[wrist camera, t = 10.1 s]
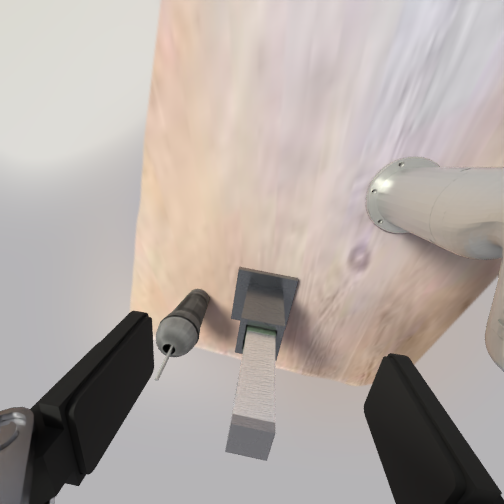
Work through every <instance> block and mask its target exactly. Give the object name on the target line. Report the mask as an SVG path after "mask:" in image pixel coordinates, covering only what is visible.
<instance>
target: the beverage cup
mask: <svg viewBox="0 0 504 504" xmlns="http://www.w3.org/2000/svg"><path fill="white" fill-rule="evenodd" d="M208 302H209V296H208V294H207V293H206V292H205V291H203V290H201V289H195V290H193V291H191V292H190V293H189V294H188V295H187V296H186V297H185V299H184V300H183V301H182V302H181V303H180V304H179V305H178V306H177V307H176V308H175V310H174V311H173V312H172V313H170V314H169V315H168V316H167V317H165V318H164V319H163V320H162V321H161V322H160V325H159V327H158V330H157V332H156V344H157V346H158V349H159V350H160V351H161V352H162V353H163V354H164V355H166V357H165V360H164V362H163V364H162V366H161V368H160V370H159V372H158V374H157V376H156V378H155V380H156V381H158V380H159V377H160V375H161V373H162V371H163V369H164V367H165V365H166V363H167V361H168V359H169V357H179V356H182V355H185V354H186V353H188V352H189V351H190V350H191V349H192V348H193V347H194V345H195V344H196V343H197V341H198V339H199V333H200V327H201V324H202V321H203V318H204V315H205V312H206V309H207V306H208Z"/></svg>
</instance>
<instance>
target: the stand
mask: <svg viewBox="0 0 504 504" xmlns="http://www.w3.org/2000/svg"><path fill="white" fill-rule="evenodd" d="M297 283H298V278H294V277H289V276H284V275H279V274H273V273H268V272H263V271H258V270H253V269H247V268H242V267H240V268H239V272H238V278H237V284H236V291H235V297H234V303H233V309H232V316H231V319H235V320H240V327H239V332H238V338H237V344H236V349H235V352H236V353H241V354H243V348H244V342H245V337H246V332H247V327H248V325H253V326H258V327H262V328H267V329H272V330H275V331H276V337H275V361H276V360H277V356H278V352H279V349H280V345H281V341H282V337H283V334H284V330H285V328H286V325H287V321H288V317H289V313H290V310H291V306H292V302H293V298H294V295H295V291H296V287H297Z"/></svg>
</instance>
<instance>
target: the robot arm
mask: <svg viewBox="0 0 504 504" xmlns="http://www.w3.org/2000/svg"><path fill="white" fill-rule="evenodd" d="M399 163H400V166H399ZM372 190H374V191H373V192H372ZM366 209H367V213H368V215H369V217H370V219H371V220H372V221H373V223H374V224H376V225H377V226H378V227H379V228H381V229H383V230H385V231H388V232H391V233H408V232H410V233H412V234H414V235H417V236H419V237H421V238H423V239H425V240H427V241H429V242H431V243H433V244H435V245H437V246H439V247H441V248H443V249H445V250H448V251H450V252H452V253H454V254H457V255H459V256H462V257H466V258H471V259H484V260H487V259H498V258H502V261H501V266H500V270H499V274H498V278H499V280H498V284H497V287H496V292H495V295H494V299H493V303H492V307H491V310H490V314H489V318H488V322H487V326H486V333H485V343H486V348H487V350H488V353H489V355H490V356H491V358H492V359H493V361H494V362H495V363H496V364H497V366H498V367H500V368H501V369H502V370H503V371H504V167H440V166H439V165H438V164H437V163H435V162H433V161H432V160H430V159H426V158H423V157H407V158H403V159H399V160H397V161H394V162H392V163H390V164H389V165H387V166H385V167H384V168H383V169H382V170H381V171H380V172H379V173H378V174H377V175H376V176H375V177H374V179H373V180H372V182H371V184H370V185H369V188H368V191H367V195H366ZM378 220H380V221H379V222H378ZM153 369H154V355H153V332H152V318H151V317H149V316H148V313H144V312H138V311H132V312H130V313H129V314H128V315H127V316H126V317H125V318H124V319H123V320H122V321H121V322H120V323H119V324H118V325H117V326H116V327H115V328H114V329H113V330H112V331H111V332H110V333H109V334H108V335H107V336H106V337H105V338H104V339H103V340H102V341H101V342H99V343H98V344H97V345H95V346H94V347H93V348H92V349H91V350H90V351H89V352H88V353H87V354H86V355H85V356H84V357H83V358H82V359H81V360H80V361H79V362H78V363H77V364H76V365H75V366H74V367H73V368H72V369H71V370H70V371H69V372H68V373H67V374H66V375H65V376H64V377H63V378H62V379H61V380H60V381H58V383H56V384H55V385H54V386H53V387H52V388H51V389H50V390H49V391H48V393H46V394H45V395H44V396H43V397H42V398H41V399H40V400H39V401H38V402H37V403H36V404H35V405H34V406H33V407H32V408H31V409H28V408H25V407H13V408H9V409H5V410H2V411H0V504H54V503H55V496H56V495H57V494H58V493H59V491H60V490H61V488H62V486H63V485H64V484H65V483H67V484H71V485H76V486H79V485H80V483H81V482H82V480H83V479H84V477H85V475H86V474H90V473H92V471H93V470H94V469H95V467H96V466H97V464H98V463H99V461H100V459H101V458H102V456H103V454H104V453H105V451H106V449H107V448H108V446H109V445H110V443H111V441H112V439H113V438H114V436H115V435H116V433H117V431H118V430H119V428H120V426H121V425H122V423H123V422H124V420H125V418H126V417H127V415H128V413H129V412H130V410H131V408H132V407H133V405H134V403H135V402H136V400H137V398H138V396H139V395H140V394H141V392H142V390H143V389H144V387H145V385H146V384H147V382H148V380H149V379H150V377H151V375H152V373H153ZM364 413H365V417H366V420H367V423H368V425H369V428H370V431H371V434H372V437H373V439H374V443H375V445H376V448H377V451H378V454H379V457H380V460H381V462H382V465H383V468H384V471H385V474H386V477H387V480H388V482H389V485H390V488H391V491H392V494H393V497H394V500H395V502H396V504H504V500H503V498H502V497H501V494H502V492H501V491H500V490H499V488H498V487H497V485H496V484H495V482H494V481H493V479H492V478H491V476H490V475H489V474H488V472H487V471H486V469H485V468H484V466H483V465H482V463H481V462H480V460H479V459H478V457H477V456H476V455H475V454H474V452H473V450H472V449H471V447H470V446H469V444H468V443H467V441H466V440H465V439H464V437H463V436H462V434H461V433H460V431H459V430H458V428H457V427H456V425H455V424H454V423H453V421H452V420H451V418H450V417H449V415H448V414H447V412H446V411H445V409H444V408H443V406H442V405H441V404H440V402H439V401H438V399H437V398H436V396H435V395H434V393H433V392H432V391H431V389H430V388H429V386H428V385H427V383H426V382H425V380H424V379H423V378H422V376H421V374H420V373H419V372H418V370H417V369H416V367H415V366H414V364H413V363H412V361H411V360H410V359H409V357H407V356H404V355H398V354H392V353H390V354H388V356H387V357H386V356H385V357H384V358H383V359H382V362H381V364H380V367H379V369H378V372H377V374H376V377H375V379H374V381H373V384H372V386H371V389H370V391H369V394H368V397H367V399H366V401H365V404H364Z"/></svg>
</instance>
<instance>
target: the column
mask: <svg viewBox="0 0 504 504" xmlns="http://www.w3.org/2000/svg"><path fill="white" fill-rule="evenodd" d="M275 337H276V331H275V330H272V329H267V328H262V327H258V326H253V325H248V327H247V332H246V337H245V342H244V348H243V355H242V361H241V366H240V372H239V377H238V383H237V389H236V394H235V401H234V406H233V411H232V417H231V423H230V428H229V434H228V440H227V445H226V452H229V453H234V454H238V455H243V456H247V457H252V458H256V459H261V460H267V458H268V455H269V452H270V449H271V445H272V442H273V439H274V436H275Z"/></svg>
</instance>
